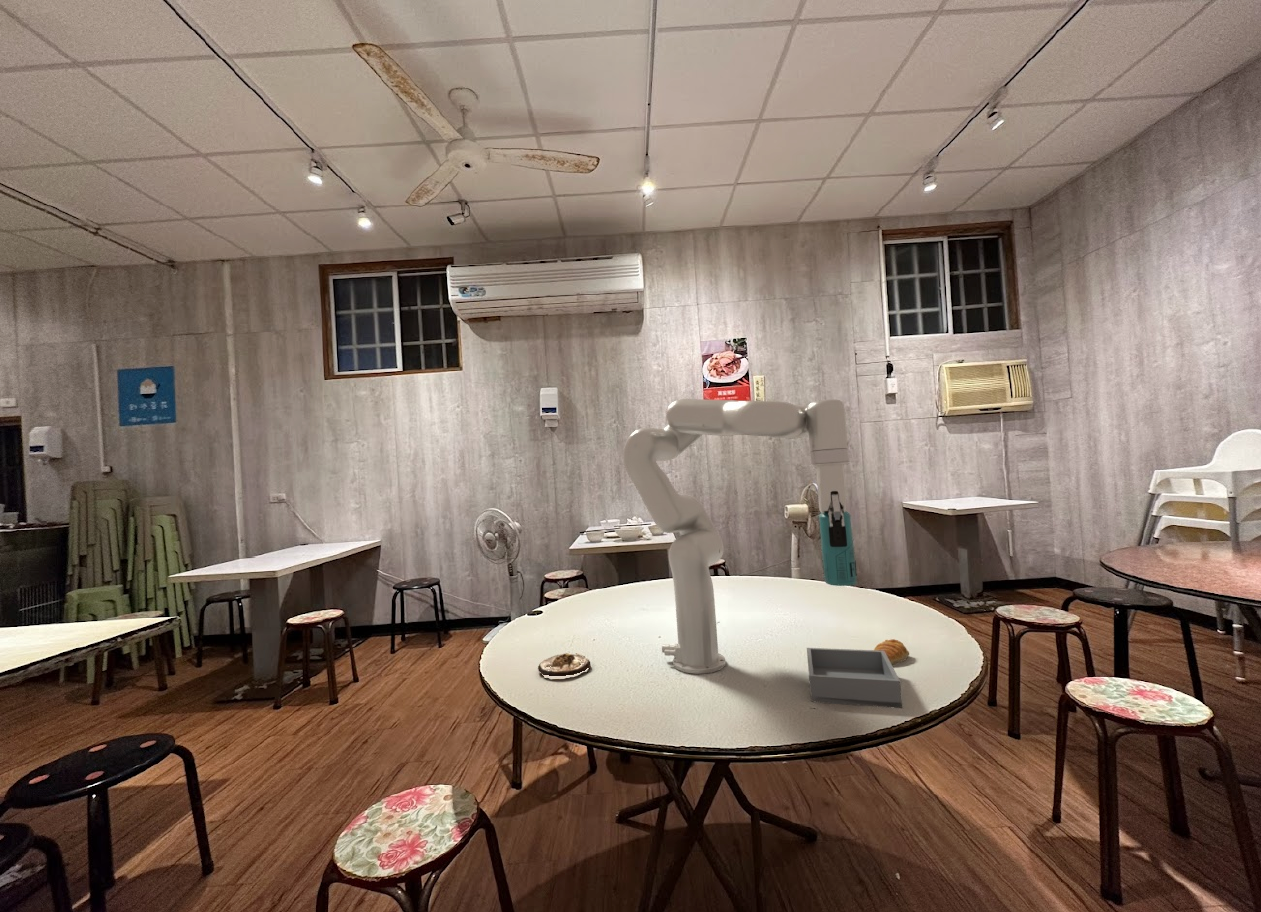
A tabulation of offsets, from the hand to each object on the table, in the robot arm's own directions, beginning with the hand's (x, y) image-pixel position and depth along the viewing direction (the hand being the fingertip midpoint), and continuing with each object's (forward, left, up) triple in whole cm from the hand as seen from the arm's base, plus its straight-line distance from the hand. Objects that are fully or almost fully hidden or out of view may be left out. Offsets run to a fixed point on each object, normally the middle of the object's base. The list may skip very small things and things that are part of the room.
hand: (837, 543), depth 103 cm
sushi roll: (-65, 0, -30) cm, 71 cm away
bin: (0, 0, -30) cm, 30 cm away
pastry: (+11, +18, -30) cm, 37 cm away
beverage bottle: (0, 0, -10) cm, 10 cm away
